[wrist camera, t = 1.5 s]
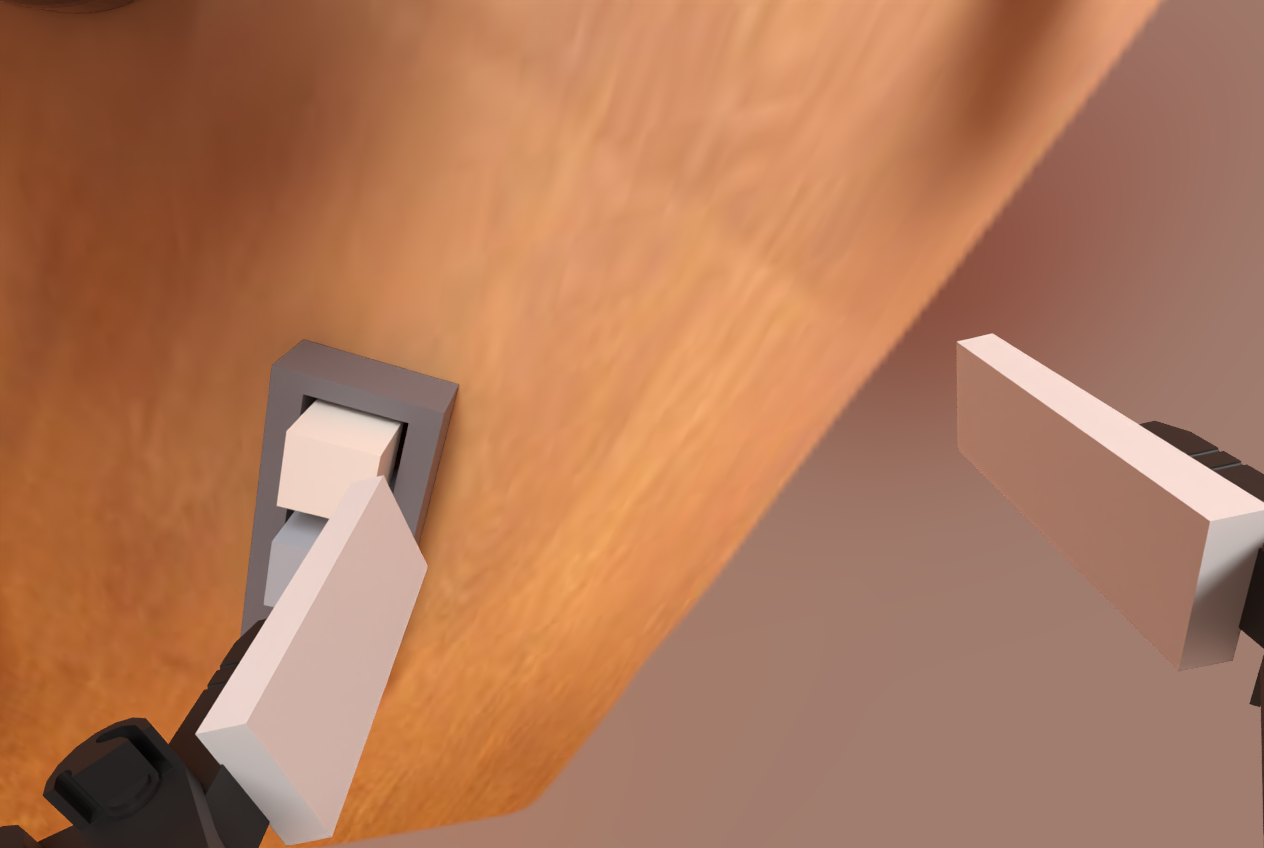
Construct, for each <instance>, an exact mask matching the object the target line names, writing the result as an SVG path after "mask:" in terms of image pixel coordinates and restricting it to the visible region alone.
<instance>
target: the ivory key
mask: <svg viewBox="0 0 1264 848" xmlns="http://www.w3.org/2000/svg"><path fill="white" fill-rule="evenodd" d="M403 424H404V422H402V421H399V420H395V419H391V418H388V417H384V416H380V415H377V414H373V413H370V412H366V411H362V410H359V409H355V408H351V407H348V406H344V405H341V404H337V403H333V402H330V401H326V400H322V399H319V398H318V399H317V400H316V401H315V402H314V403H313V404H312V405H311V406H310V407H309V408H308V409H307V410H306V411H305V412H304V413H303V414H302V415H301V416H300V417H299V419H298V420H297V421H296V422H295V423H294V424H293V425H292V426H291V427H290V428H289V429H288V430H287V431H286V439H285V446H284V454H283V461H282V469H281V477H280V484H279V492H278V499H277V506H280V507H284V508H288V509H292V510H296V511H300V512H304V513H308V514H312V515H316V516H321V517H325V518H329V519H330V517H331V516H332V514H333V512H334V511H335V509H336V508H337V506H338V504H339V503H340V501H341V499H342V498H343V496H344V495H345V493H346V491H347V490H348V488H349V487H350V485H351V483H352V482H357V481H361V480H365V479H370V478H374V477H378V476H382V475H384V477H385V479H386V481H387V483H388V486H389V485H390V484H391V479H392V475H393V470H394V465H395V461H396V456H397V451H398V447H399V442H400V438H401V433H402V428H403Z"/></svg>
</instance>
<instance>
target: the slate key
mask: <svg viewBox="0 0 1264 848" xmlns="http://www.w3.org/2000/svg"><path fill="white" fill-rule="evenodd" d="M328 520H329V518H325V517H321V516H316V515H312V514H308V513H304V512H300V511H296V510H295V511H294V513H293V514H292V515H291V517H290V518H289V519H288V521H287V522H286V523H285V525H284V526H283V527H282V529H281V530H280V531H279V533H278V534H277V535H276V537H275V538H274V539H273V541H272V545H271V552H270V560H269V567H268V575H267V583H266V590H265V598H264V605H266V606H271V607H275V605H276V604H277V602H278V600H279V599H280V597H281V596H282V594H283V592H284V591H285V589H286V588H287V586H288V584H289V583H290V581H291V580H292V578H293V576H294V575H295V573H296V572H297V570H298V568H299V567H300V565H301V564H302V562H303V560H304V559H305V557H306V556H307V554H308V552H309V551H310V549H311V548H312V546H313V544H314V543H315V541H316V540H317V538H318V536H319V535H320V533H321V532H322V530H323V528H324V527H325V525H326V524H327V522H328Z"/></svg>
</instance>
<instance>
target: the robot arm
mask: <svg viewBox="0 0 1264 848" xmlns="http://www.w3.org/2000/svg"><path fill="white" fill-rule="evenodd" d="M0 1H1V2H5V3H9V4H13V5H19V6H25V7H31V8H37V9H43V10H50V11H56V12H65V13H91V12H99V11H105V10H109V9H113V8H116V7H120V6H122V5H125V4H127V3H130V2H132V1H134V0H0ZM957 428H958V429H957V432H958V433H957V436H958V450H959V451H960V452H961V453H962V454H963V455H964V456H965V457H966V458H967V459H968V460H969V461H970V462H971V463H972V464H973V465H974V466H975V467H976V468H977V469H978V470H979V471H980V472H981V473H982V474H983V475H984V476H985V477H986V478H987V479H988V480H989V481H990V482H991V483H992V484H993V485H994V486H995V487H996V488H997V489H998V490H999V491H1000V492H1001V493H1002V494H1003V495H1004V496H1005V497H1006V498H1007V499H1008V500H1009V501H1010V502H1011V503H1012V504H1013V505H1014V506H1015V507H1016V508H1017V509H1018V510H1019V511H1020V512H1021V513H1022V514H1023V515H1024V516H1025V517H1026V518H1027V519H1028V520H1029V521H1030V522H1031V523H1032V524H1033V525H1034V526H1035V527H1036V528H1037V529H1038V530H1039V531H1040V532H1041V533H1042V534H1043V535H1044V536H1045V537H1046V538H1047V539H1048V540H1049V541H1050V542H1051V544H1053V545H1054V546H1055V547H1056V549H1057V550H1059V552H1060V553H1061V554H1062V555H1063V556H1064V557H1065V558H1066V559H1067V560H1069V562H1070V563H1071V564H1072V565H1073V566H1074V567H1075V568H1076V569H1077V570H1078V571H1079V572H1080V573H1081V574H1082V575H1083V576H1084V577H1085V578H1086V579H1087V580H1088V581H1089V582H1090V583H1091V584H1092V585H1093V586H1094V587H1095V588H1096V589H1097V590H1098V591H1099V592H1100V593H1101V594H1102V595H1103V596H1104V597H1105V598H1106V599H1107V600H1108V601H1109V602H1110V603H1111V604H1112V605H1113V606H1114V607H1115V608H1116V609H1117V610H1118V611H1119V612H1120V613H1121V614H1122V615H1123V616H1124V617H1125V618H1126V619H1127V620H1128V621H1129V622H1130V623H1131V624H1132V625H1133V626H1134V627H1135V628H1136V629H1137V630H1138V631H1139V632H1140V633H1141V634H1142V635H1143V636H1144V637H1145V638H1146V639H1147V640H1148V641H1149V642H1150V643H1151V644H1152V645H1153V646H1154V647H1155V648H1156V649H1157V650H1158V651H1159V652H1160V653H1161V654H1162V655H1163V656H1164V657H1165V658H1166V659H1167V660H1168V661H1169V662H1170V663H1171V664H1172V665H1173V666H1174V667H1175V668H1176V669H1177V670H1178V671H1182V670H1188V669H1193V668H1198V667H1203V666H1208V665H1213V664H1218V663H1223V662H1228V661H1233V658H1234V654H1235V650H1236V646H1237V642H1238V639H1239V634H1240V631H1241V630H1243V632H1245V633H1246V634H1247V635H1248V636H1249V637H1251V638H1252V639H1253V640H1254V641H1255V642H1256V643H1258V644H1259V645H1260V646H1261V647H1262V648H1264V474H1262V473H1261V472H1259V471H1257V470H1255V469H1254V468H1252V467H1250V466H1248V465H1242V464H1241V461H1240V460H1238V459H1236V458H1235V457H1233V456H1231V455H1230V454H1228V453H1226V452H1224V451H1222V452H1220V451H1219V450H1218V448H1217V447H1216V446H1214V445H1212V444H1211V443H1209V442H1207V441H1205V440H1204V439H1202V438H1200V437H1199V436H1197V435H1195V434H1193V433H1192V432H1189V431H1186V430H1183V429H1180V428H1176V427H1173V426H1170V425H1167V424H1164V423H1160V422H1157V421H1152V422H1147V423H1143V424H1137V423H1135V422H1134V421H1132V420H1130V419H1129V418H1127V417H1126V416H1124V415H1122V414H1121V413H1119V412H1118V411H1116V410H1114V409H1113V408H1111V407H1110V406H1108V405H1106V404H1105V403H1103V402H1101V401H1100V400H1098V399H1097V398H1095V397H1093V396H1092V395H1090V394H1089V393H1087V392H1085V391H1084V390H1082V389H1081V388H1079V387H1077V386H1076V385H1074V384H1072V383H1071V382H1069V381H1068V380H1066V379H1065V378H1063V377H1061V376H1060V375H1058V374H1057V373H1055V372H1053V371H1052V370H1050V369H1049V368H1047V367H1045V366H1044V365H1042V364H1040V363H1039V362H1037V361H1036V360H1034V359H1032V358H1031V357H1029V356H1028V355H1026V354H1024V353H1023V352H1021V351H1020V350H1018V349H1016V348H1015V347H1013V346H1012V345H1010V344H1008V343H1007V342H1005V341H1003V340H1002V339H1000V338H999V337H997V336H996V335H994V334H988V335H984V336H980V337H976V338H971V339H967V340H962V341H958V342H957ZM427 568H428V566H427V564H426V562H425V560H424V558H423V556H422V553H421V551H420V549H419V547H418V545H417V543H416V541H415V539H414V537H413V535H412V533H411V531H410V529H409V527H408V525H407V523H406V521H405V518H404V516H403V514H402V512H401V510H400V508H399V506H398V504H397V502H396V500H395V498H394V496H393V494H392V492H391V490H390V488H389V486H388V483H387V481H386V479H385V477H384V475H382V476H378V477H374V478H370V479H365V480H361V481H357V482H352V483H351V485H350V487H349V488H348V490H347V491H346V493H345V495H344V496H343V498H342V499H341V501H340V503H339V504H338V506H337V508H336V509H335V511H334V512H333V514H332V516H331V517H330V519H329V520H328V522H327V524H326V525H325V527H324V528H323V530H322V532H321V533H320V535H319V536H318V538H317V540H316V541H315V543H314V544H313V546H312V548H311V549H310V551H309V552H308V554H307V556H306V557H305V559H304V560H303V562H302V564H301V565H300V567H299V568H298V570H297V572H296V573H295V575H294V576H293V578H292V580H291V581H290V583H289V584H288V586H287V588H286V589H285V591H284V592H283V594H282V596H281V597H280V599H279V600H278V602H277V604H276V605H275V607H274V609H273V610H272V612H271V613H270V615H269V617H268V618H267V619H262V620H258V621H257V622H256V623H255V624H254V625H253V626H252V627H251V628H250V629H249V630H248V631H247V632H246V633H245V634H244V635H243V636H242V637H240V638H239V639H238V640H237V641H236V642H235V644H234V645H233V647H232V648H231V650H230V651H229V653H228V654H227V656H226V657H225V659H224V660H223V662H222V663H221V665H220V670H217V671H216V673H215V674H214V676H213V677H212V679H211V680H210V682H209V683H208V685H207V686H208V689H207V690H204V691H203V692H202V694H201V695H200V697H199V699H198V700H197V702H196V703H195V705H194V706H193V708H192V709H191V711H190V712H189V714H188V715H187V717H186V718H185V720H184V721H183V723H182V724H181V726H180V728H179V729H178V731H177V732H176V734H175V735H174V737H173V738H172V740H171V741H170V743H169V744H167V742H166V741H165V740H164V739H163V738H162V737H161V735H160V734H159V733H158V732H157V731H156V730H155V728H154V727H153V726H152V725H151V724H150V723H149V722H148V720H147V719H146V718H130V719H127V720H123V721H120V722H116V723H114V724H112V725H110V726H108V727H107V728H105V729H103V730H101V731H99V732H97V733H95V734H94V735H93V736H91V737H90V738H88V739H87V740H86V741H84V742H83V743H82V744H80V745H79V746H77V747H76V748H75V749H74V750H73V751H72V752H71V753H70V754H69V755H68V756H67V757H66V758H65V759H64V760H63V761H62V762H61V763H60V764H59V765H58V766H57V767H56V769H55V770H54V772H53V773H52V775H51V776H50V777H49V779H48V780H47V782H46V786H45V789H44V793H43V796H44V797H45V798H46V799H47V800H48V801H49V802H50V803H51V804H52V805H53V806H54V807H55V808H56V809H57V810H58V811H59V812H60V813H61V814H63V815H64V816H65V817H66V818H67V819H68V820H69V821H70V822H71V823H72V824H73V826H71V827H69V828H67V829H64V830H62V831H60V832H58V833H56V834H54V835H52V836H49V837H47V838H45V839H43V840H41V841H39V842H37V841H35V840H34V839H33V838H32V837H31V836H30V835H29V834H28V833H27V832H25V831H24V830H23V829H22V828H21V827H19V826H18V825H12V826H2V827H0V848H258V847H259V845H260V843H261V841H262V839H263V836H264V834H265V832H266V830H267V827H268V825H270V826H271V827H272V829H273V830H274V831H275V832H276V833H277V835H278V836H279V837H280V838H281V840H282V841H283V842H284V843H285V844H286V846H289V845H294V844H299V843H304V842H309V841H314V840H320V839H325V838H330V837H332V835H333V832H334V830H335V827H336V824H337V821H338V818H339V816H340V813H341V810H342V807H343V804H344V802H345V799H346V796H347V793H348V790H349V787H350V785H351V782H352V779H353V776H354V773H355V771H356V768H357V765H358V762H359V759H360V757H361V754H362V751H363V748H364V745H365V742H366V740H367V737H368V734H369V731H370V728H371V726H372V723H373V720H374V717H375V714H376V712H377V709H378V706H379V703H380V700H381V697H382V695H383V692H384V689H385V686H386V683H387V681H388V678H389V675H390V672H391V669H392V667H393V664H394V661H395V658H396V655H397V652H398V650H399V647H400V644H401V641H402V638H403V636H404V633H405V630H406V627H407V624H408V622H409V619H410V616H411V613H412V610H413V607H414V605H415V602H416V599H417V596H418V593H419V591H420V588H421V585H422V582H423V579H424V577H425V574H426V571H427ZM1250 704H1251V705H1255V706H1258V707H1260V706H1261V729H1262V730H1261V734H1262V783H1263V833H1264V656H1263V659H1262V663H1261V666H1260V670H1259V673H1258V677H1257V680H1256V684H1255V687H1254V691H1253V694H1252V697H1251V701H1250Z"/></svg>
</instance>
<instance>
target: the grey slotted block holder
mask: <svg viewBox="0 0 1264 848" xmlns="http://www.w3.org/2000/svg"><path fill="white" fill-rule="evenodd" d="M458 386H459V384H455V383H452V382H448V381H445V380H442V379H438V378H435V377H431V376H428V375H424V374H421V373H417V372H414V371H410V370H407V369H404V368H400V367H397V366H393V365H390V364H386V363H383V362H379V361H376V360H373V359H369V358H366V357H362V356H359V355H355V354H352V353H348V352H345V351H342V350H338V349H335V348H331V347H328V346H324V345H321V344H317V343H314V342H310V341H307V340H302V341H301V342H300V343H299V344H297V345H296V346H295V347H294V348H292V349H291V350H290V351H289V352H287V353H286V354H285V355H284V356H282V357H281V358H280V359H279V360H277V361H276V362H275V363H274V364H272V369H271V378H270V387H269V395H268V404H267V413H266V421H265V430H264V438H263V447H262V456H261V464H260V473H259V482H258V490H257V499H256V508H255V516H254V525H253V533H252V542H251V551H250V559H249V568H248V577H247V585H246V594H245V603H244V611H243V620H242V628H241V637H242V636H243V635H244V634H245V633H246V632H247V631H248V630H249V629H250V628H251V627H252V626H253V625H254V624H255V623H256V622H257V621H258V620H262V619H267V618H268V617H269V615H270V613H271V612H272V610H273V609H274V607H271V606H266V605H264V598H265V590H266V583H267V575H268V567H269V560H270V552H271V545H272V541H273V539H274V538H275V537H276V535H277V534H278V533H279V531H280V530H281V529H282V527H283V526H284V525H285V523H286V522H287V521H288V519H289V518H290V517H291V515H292V514H293V513H294V511H295V510H292V509H288V508H284V507H280V506H277V499H278V492H279V484H280V477H281V469H282V461H283V454H284V446H285V439H286V431H287V430H288V429H289V428H290V427H291V426H292V425H293V424H294V423H295V422H296V421H297V420H298V419H299V417H300V416H301V415H302V414H303V413H304V412H305V411H306V410H307V409H308V408H309V407H310V406H311V405H312V404H313V403H314V402H315V401H316V400H317V399H318V398H319V399H322V400H326V401H330V402H333V403H337V404H341V405H344V406H348V407H351V408H355V409H359V410H362V411H366V412H370V413H373V414H377V415H380V416H384V417H388V418H391V419H395V420H399V421H402V422H406V423H409V425H408V429H407V434H406V438H405V443H404V447H403V452H402V456H401V461H400V465H399V468H397V467H394V470H393V475H392V479H391V484H390V485H389V488H390V490H391V492H392V494H393V496H394V498H395V500H396V502H397V504H398V506H399V508H400V510H401V512H402V514H403V516H404V518H405V521H406V523H407V525H408V527H409V529H410V531H411V533H412V535H413V537H414V539H415V541H416V543H417V545H418V546H419V542H420V538H421V534H422V530H423V526H424V522H425V518H426V514H427V510H428V506H429V502H430V498H431V494H432V490H433V486H434V482H435V478H436V474H437V470H438V466H439V462H440V458H441V454H442V450H443V446H444V442H445V438H446V434H447V430H448V426H449V422H450V418H451V414H452V410H453V406H454V402H455V398H456V394H457V390H458Z"/></svg>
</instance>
